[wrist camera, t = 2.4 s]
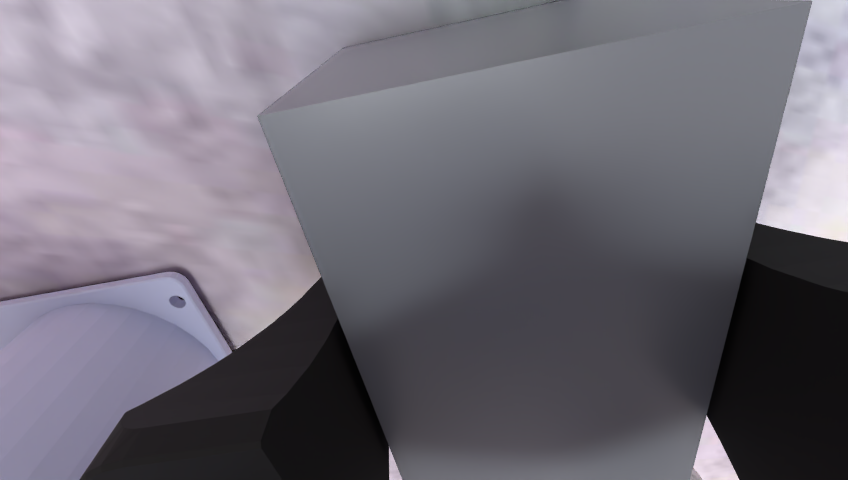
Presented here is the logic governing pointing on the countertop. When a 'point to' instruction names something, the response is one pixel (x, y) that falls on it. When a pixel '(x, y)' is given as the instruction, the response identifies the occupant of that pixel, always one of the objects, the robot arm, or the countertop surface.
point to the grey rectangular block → (542, 225)
